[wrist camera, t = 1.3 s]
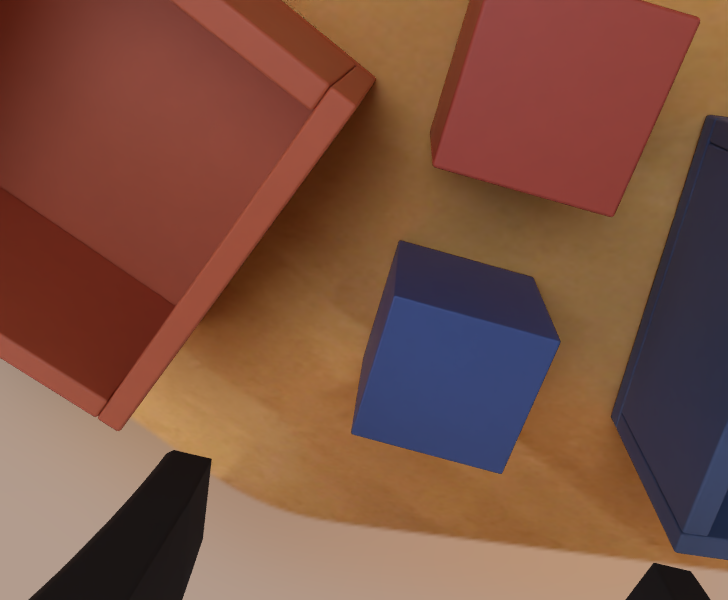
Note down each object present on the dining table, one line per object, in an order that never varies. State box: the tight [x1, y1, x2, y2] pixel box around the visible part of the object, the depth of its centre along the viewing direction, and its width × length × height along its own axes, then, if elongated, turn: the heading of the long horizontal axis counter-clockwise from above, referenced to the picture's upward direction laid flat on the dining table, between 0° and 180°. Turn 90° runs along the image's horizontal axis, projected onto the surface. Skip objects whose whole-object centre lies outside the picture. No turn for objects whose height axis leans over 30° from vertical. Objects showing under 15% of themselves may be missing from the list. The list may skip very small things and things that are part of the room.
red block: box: [430, 0, 700, 217], centre depth 15 cm, size 4×4×4 cm
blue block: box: [351, 241, 560, 474], centre depth 17 cm, size 4×4×4 cm
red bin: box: [0, 0, 376, 431], centre depth 15 cm, size 9×9×6 cm
